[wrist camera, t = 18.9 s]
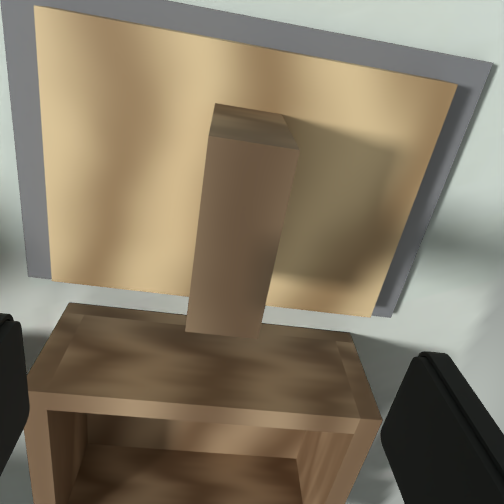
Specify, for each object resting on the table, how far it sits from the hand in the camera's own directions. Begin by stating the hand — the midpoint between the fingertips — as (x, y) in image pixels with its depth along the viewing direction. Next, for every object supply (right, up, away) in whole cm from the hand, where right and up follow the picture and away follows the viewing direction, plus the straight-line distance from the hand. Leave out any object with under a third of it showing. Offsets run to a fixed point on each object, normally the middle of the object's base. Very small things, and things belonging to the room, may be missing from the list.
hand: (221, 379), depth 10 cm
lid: (0, +7, +12) cm, 14 cm away
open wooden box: (-3, -9, +21) cm, 23 cm away
